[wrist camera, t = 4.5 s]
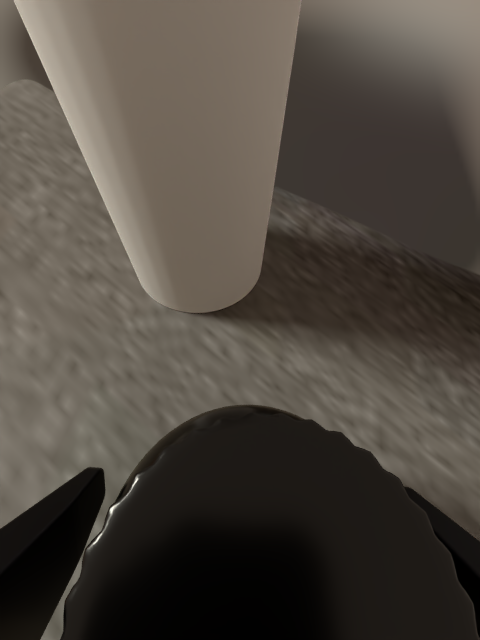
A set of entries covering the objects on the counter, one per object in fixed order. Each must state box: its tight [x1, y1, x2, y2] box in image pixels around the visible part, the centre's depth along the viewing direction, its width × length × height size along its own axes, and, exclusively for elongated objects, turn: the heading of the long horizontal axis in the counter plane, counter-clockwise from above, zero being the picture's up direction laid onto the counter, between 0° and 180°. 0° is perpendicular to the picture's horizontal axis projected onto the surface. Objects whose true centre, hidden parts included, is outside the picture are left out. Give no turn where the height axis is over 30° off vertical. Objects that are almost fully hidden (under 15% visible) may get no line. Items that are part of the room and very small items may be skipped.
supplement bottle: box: [60, 405, 480, 640], centre depth 8 cm, size 7×7×12 cm
